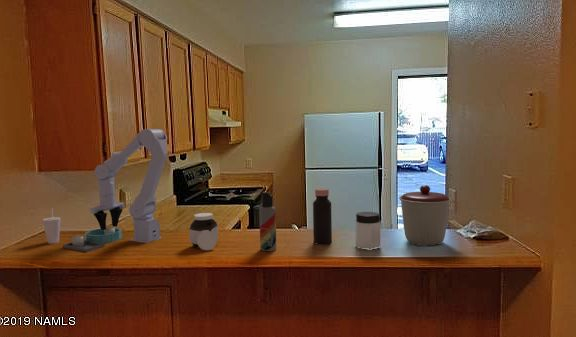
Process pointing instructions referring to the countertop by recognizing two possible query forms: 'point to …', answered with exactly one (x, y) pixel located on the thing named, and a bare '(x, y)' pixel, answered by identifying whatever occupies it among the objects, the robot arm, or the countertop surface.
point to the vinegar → (322, 217)
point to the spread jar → (204, 231)
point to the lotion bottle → (267, 224)
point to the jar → (367, 230)
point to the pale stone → (109, 230)
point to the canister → (425, 216)
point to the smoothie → (52, 228)
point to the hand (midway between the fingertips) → (109, 227)
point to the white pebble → (78, 241)
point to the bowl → (103, 236)
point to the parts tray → (85, 246)
